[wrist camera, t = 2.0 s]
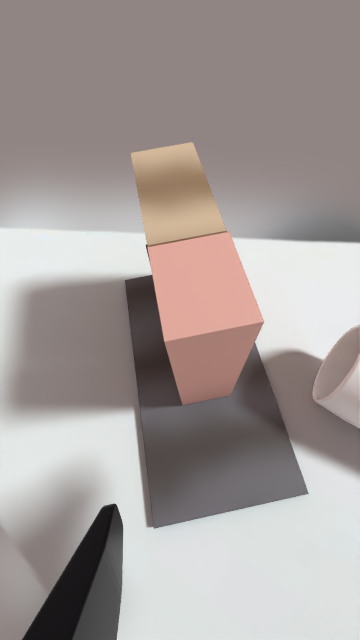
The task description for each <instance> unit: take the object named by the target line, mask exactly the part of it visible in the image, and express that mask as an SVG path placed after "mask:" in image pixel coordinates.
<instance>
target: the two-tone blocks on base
mask: <svg viewBox="0 0 360 640" xmlns="http://www.w3.org/2000/svg"><path fill="white" fill-rule="evenodd" d="M131 157H132V163H133V168H134V173H135V179H136V185H137V190H138V196H139V201H140V207H141V213H142V218H143V224H144V229H145V235H146V240H147V245H146V248H147V253H148V247H152V246H157V245H162V244H168V243H173V242H178V241H184V240H189V239H194V238H199V237H205V236H210V235H215V234H221V233H226V232H227V231H226V228H225V226H224V223H223V220H222V218H221V215H220V213H219V210H218V207H217V205H216V202H215V199H214V197H213V194H212V192H211V189H210V186H209V184H208V181H207V179H206V176H205V173H204V171H203V168H202V165H201V163H200V160H199V158H198V155H197V152H196V150H195V147H194V144H193V142H191V143H185V144H180V145H174V146H168V147H163V148H157V149H151V150H146V151H140V152H135V153H131ZM148 257H149V253H148ZM149 261H150V259H149ZM150 265H151V264H150ZM125 284H126V292H127V301H128V310H129V318H130V327H131V335H132V344H133V352H134V361H135V369H136V378H137V387H138V395H139V404H140V412H141V421H142V429H143V438H144V447H145V455H146V464H147V472H148V481H149V489H150V498H151V506H152V515H153V524H154V528H159V527H163V526H167V525H172V524H176V523H181V522H185V521H190V520H194V519H198V518H203V517H207V516H212V515H216V514H221V513H225V512H229V511H234V510H238V509H243V508H247V507H252V506H256V505H260V504H265V503H269V502H274V501H278V500H283V499H287V498H291V497H296V496H300V495H305V494H309V493H308V491H307V488H306V485H305V482H304V479H303V476H302V474H301V471H300V468H299V465H298V462H297V460H296V457H295V454H294V451H293V448H292V445H291V443H290V440H289V437H288V434H287V431H286V428H285V426H284V423H283V420H282V417H281V414H280V412H279V409H278V406H277V403H276V400H275V397H274V395H273V392H272V389H271V386H270V383H269V381H268V378H267V375H266V372H265V369H264V366H263V364H262V361H261V358H260V355H259V352H258V350H257V347H256V344H255V342H254V345H253V347H252V349H251V351H250V353H249V356H248V358H247V360H246V362H245V364H244V367H243V369H242V371H241V373H240V375H239V377H238V380H237V382H236V384H235V386H234V388H233V391H232V393H231V395H229V396H224V397H220V398H215V399H210V400H205V401H201V402H196V403H191V404H186V405H182V402H181V398H180V395H179V391H178V388H177V384H176V381H175V377H174V374H173V370H172V367H171V363H170V360H169V356H168V353H167V349H166V346H165V342H164V337H163V331H162V326H161V320H160V314H159V309H158V303H157V298H156V292H155V287H154V281H153V275H150V276H145V277H139V278H134V279H129V280H125Z"/></svg>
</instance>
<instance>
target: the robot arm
mask: <svg viewBox="0 0 360 640" xmlns="http://www.w3.org/2000/svg"><path fill="white" fill-rule="evenodd" d="M122 561H123V523H122V519H121V516H120V513H119V510H118V507H117V505H116V504H110V505H105V506H103V507H102V508H101V510H100V512H99V513H98V515H97V517H96V518H95V520H94V522H93V523H92V525H91V527H90V528H89V530H88V532H87V533H86V535H85V536H84V538H83V540H82V541H81V543H80V545H79V546H78V548H77V550H76V551H75V553H74V555H73V556H72V558H71V560H70V561H69V563H68V565H67V566H66V568H65V570H64V571H63V573H62V574H61V576H60V578H59V579H58V581H57V583H56V584H55V586H54V588H53V589H52V591H51V593H50V594H49V596H48V598H47V599H46V601H45V603H44V604H43V606H42V608H41V609H40V611H39V612H38V614H37V616H36V617H35V619H34V621H33V622H32V624H31V626H30V627H29V629H28V631H27V632H26V634H25V636H24V638H23V639H22V640H117V631H118V622H119V613H120V603H121V593H122Z"/></svg>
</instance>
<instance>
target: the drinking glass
mask: <svg viewBox="0 0 360 640" xmlns="http://www.w3.org/2000/svg"><path fill="white" fill-rule="evenodd" d="M312 395H313V399H314V401H315V402H316V403H318V404H319V405H321V406H323V407H324V408H326V409H327V410H329V411H330V412H332V413H334V414H335V415H337V416H338V417H340V418H342V419H343V420H345V421H347V422H348V423H350V424H352V425H353V426H355V427H357V428H359V429H360V325H357V326H355V327H353V328H351V329H350V330H349V331H347V332H346V333H345V334H344V335H343V336H342V337H341V338H340V339H339V340H338V341H337V343H336V344H335V345H334V346H333V348H332V349H331V350H330V352H329V353H328V355H327V356H326V358H325V360H324V361H323V363H322V365H321V367H320V369H319V371H318V373H317V376H316V378H315V381H314V385H313V391H312Z"/></svg>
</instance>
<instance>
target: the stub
mask: <svg viewBox="0 0 360 640" xmlns="http://www.w3.org/2000/svg"><path fill="white" fill-rule="evenodd" d="M148 253H149V259H150V264H151V270H152V275H153V281H154V287H155V292H156V298H157V303H158V309H159V314H160V320H161V326H162V331H163V337H164V342H165V346H166V349H167V353H168V356H169V360H170V363H171V367H172V370H173V374H174V377H175V381H176V384H177V388H178V391H179V395H180V398H181V402H182V405H186V404H191V403H196V402H201V401H205V400H210V399H215V398H220V397H224V396H229V395H231V393H232V391H233V388H234V386H235V384H236V382H237V380H238V377H239V375H240V373H241V371H242V369H243V367H244V364H245V362H246V360H247V358H248V356H249V353H250V351H251V349H252V347H253V345H254V342H255V340H256V338H257V336H258V334H259V332H260V329H261V327H262V325H263V323H264V320H263V318H262V315H261V312H260V310H259V307H258V305H257V302H256V300H255V297H254V294H253V292H252V289H251V287H250V284H249V282H248V279H247V276H246V274H245V271H244V269H243V266H242V263H241V261H240V258H239V256H238V253H237V251H236V248H235V245H234V243H233V240H232V238H231V235H230V233H229V232H226V233H221V234H215V235H210V236H205V237H199V238H194V239H189V240H184V241H178V242H173V243H168V244H162V245H157V246H152V247H148Z"/></svg>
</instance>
